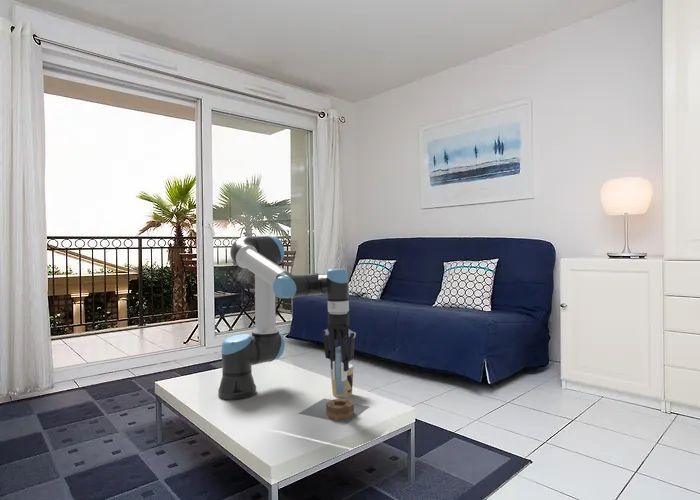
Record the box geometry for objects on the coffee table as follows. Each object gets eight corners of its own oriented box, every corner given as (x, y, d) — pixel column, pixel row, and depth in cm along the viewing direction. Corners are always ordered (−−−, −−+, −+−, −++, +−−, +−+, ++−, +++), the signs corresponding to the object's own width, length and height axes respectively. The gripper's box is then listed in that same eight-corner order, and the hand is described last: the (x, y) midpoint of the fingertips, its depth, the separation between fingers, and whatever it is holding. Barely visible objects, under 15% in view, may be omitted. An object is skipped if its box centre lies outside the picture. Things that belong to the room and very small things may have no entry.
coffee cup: (351, 400, 170) (351, 369, 170) (328, 399, 172) (327, 368, 172) (356, 392, 180) (355, 363, 179) (333, 391, 181) (333, 362, 181)
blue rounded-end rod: (334, 393, 154) (333, 347, 154) (338, 391, 156) (337, 346, 156) (341, 394, 152) (340, 348, 152) (345, 392, 155) (344, 346, 155)
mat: (298, 414, 156) (298, 413, 156) (323, 399, 171) (323, 398, 171) (347, 425, 147) (347, 423, 147) (369, 408, 162) (369, 406, 162)
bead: (322, 416, 153) (322, 405, 153) (335, 408, 161) (335, 397, 161) (344, 421, 148) (344, 409, 148) (357, 412, 156) (357, 401, 156)
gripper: (313, 313, 155) (315, 379, 155) (353, 315, 147) (354, 385, 147) (325, 310, 161) (326, 374, 161) (363, 312, 154) (364, 379, 154)
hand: (340, 379), depth 154 cm, fingers closed on blue rounded-end rod, 3 cm apart
